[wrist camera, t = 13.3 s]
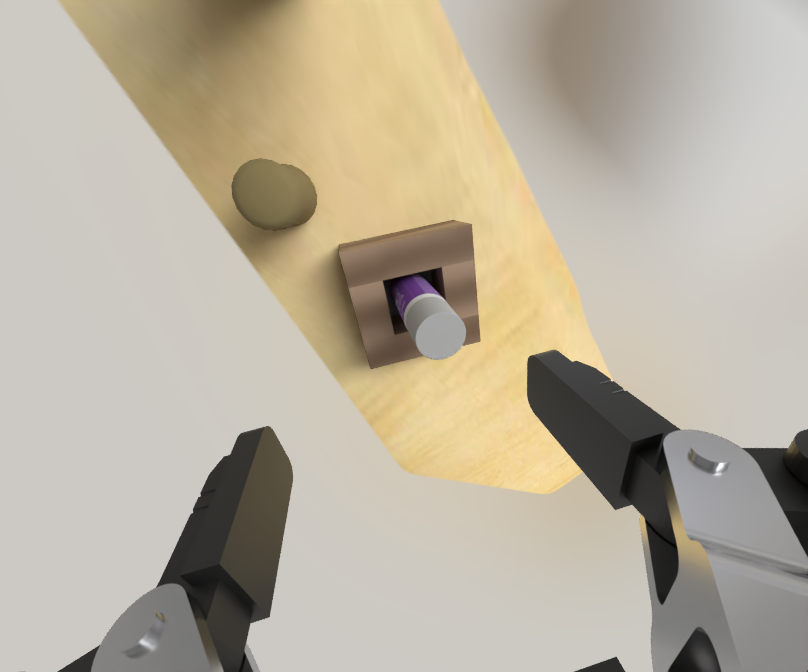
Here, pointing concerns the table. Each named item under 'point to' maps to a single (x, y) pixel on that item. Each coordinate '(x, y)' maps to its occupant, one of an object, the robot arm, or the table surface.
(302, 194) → the cork
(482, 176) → the table surface
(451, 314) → the container
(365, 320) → the well block
